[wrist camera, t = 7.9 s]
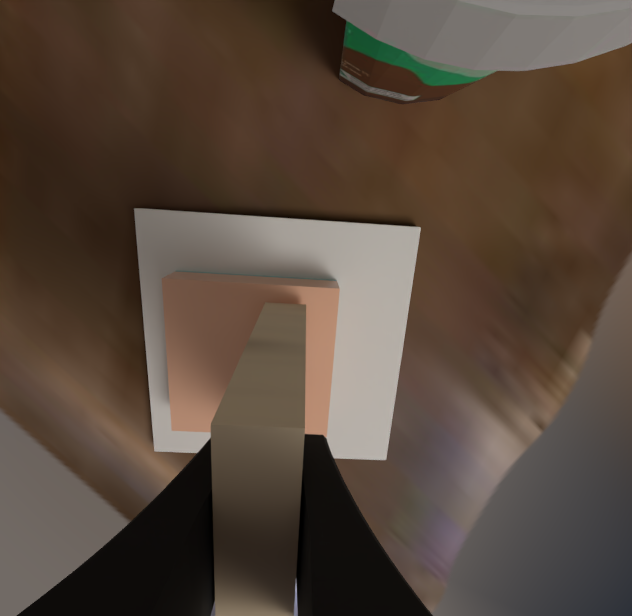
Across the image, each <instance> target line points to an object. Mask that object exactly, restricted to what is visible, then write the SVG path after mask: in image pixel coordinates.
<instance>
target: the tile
mask: <svg viewBox="0 0 632 616" xmlns="http://www.w3.org/2000/svg"><path fill="white" fill-rule="evenodd" d="M162 292H163V307H164V322H165V337H166V353H167V368H168V383H169V398H170V414H171V429H172V431H188V432H211V422H212V420H213V418H214V416H215V413H216V411H217V409H218V407H219V405H220V402H221V400H222V398H223V396H224V393H225V391H226V389H227V387H228V384H229V382H230V380H231V378H232V376H233V373H234V371H235V369H236V367H237V364H238V362H239V360H240V358H241V355H242V353H243V351H244V349H245V347H246V344H247V342H248V340H249V338H250V335H251V333H252V331H253V329H254V327H255V324H256V322H257V320H258V318H259V315H260V313H261V311H262V309H263V306H264V304H265V302H268V303H287V304H306V374H305V434H318V435H324V436H325V437H327V429H328V418H329V406H330V395H331V383H332V372H333V361H334V349H335V338H336V327H337V315H338V304H339V292H340V288H339V285H338V282H337V280H328V279H311V278H294V277H277V276H260V275H244V274H227V273H210V272H193V271H175V272H173V273H171V274H169V275H167V276H165V277H163V278H162Z"/></svg>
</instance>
